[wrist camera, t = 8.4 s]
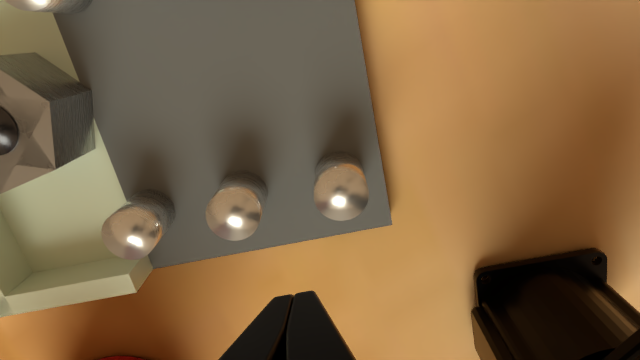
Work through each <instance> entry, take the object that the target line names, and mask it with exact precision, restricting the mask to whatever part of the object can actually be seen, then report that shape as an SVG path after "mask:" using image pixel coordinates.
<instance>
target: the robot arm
mask: <svg viewBox="0 0 640 360" xmlns="http://www.w3.org/2000/svg"><path fill="white" fill-rule="evenodd" d="M594 257H597V258H596V259H595V260H594V261H592V259H593V258H594ZM484 276H488V277H487V278H486V279H485V280H481V278H482V277H484ZM474 287H475V297H476V307H473V309H472V311H471V317H472V326H473V335H474V345H475V349H476V351H477V353H478V355H479V357H480V359H481V360H640V313H639V312H638V311H637V310H636V309H635V308H634V307H633V306H632V305H631V304H629V303H628V302H627V301H626V300H625V299H624V298H623V297H622V296H621V295H619V294H618V293H617V292H616V291H615V290H614V289H613V288H612V287H610V286H609V285H608V284H607V257H606V255H605V254H604V253H603V252H602V251H600V250H599V249H596V248H591V249H585V250H580V251H574V252H568V253H562V254H557V255H551V256H545V257H539V258H534V259H528V260H522V261H516V262H511V263H505V264H499V265H494V266H488V267H482V268H479V269H478V270H476V272H475V273H474ZM219 360H356V359H355V357H354V356H353V354H352V352H351V351H350V349H349V347H348V346H347V344H346V342H345V341H344V339H343V337H342V336H341V334H340V333H339V331H338V329H337V328H336V326H335V324H334V323H333V321H332V319H331V318H330V316H329V314H328V313H327V311H326V309H325V308H324V306H323V304H322V303H321V301H320V300H319V298H318V296H317V295H316V293H315V292H314V291H306V292H301V293H297V294H295V295H294V296H293V295H292V294H290V295H284V296H278V297H275V298H273V299H272V300H271V301H270V302H269V304H268V305H267V306H266V307H265V308H264V309H263V310H262V311H261V312H260V314H259V315H258V316H257V317H256V318H255V319H254V320H253V321H252V323H251V324H250V325H249V326H248V327H247V328H246V329H245V330H244V332H243V333H242V334H241V335H240V336H239V337H238V338H237V339H236V341H235V342H234V343H233V344H232V345H231V346H230V347H229V348H228V349H227V351H226V352H225V353H224V354H223V355H222V356H221V357H220V358H219Z"/></svg>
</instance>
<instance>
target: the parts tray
mask: <svg viewBox="0 0 640 360" xmlns="http://www.w3.org/2000/svg"><path fill="white" fill-rule="evenodd" d="M33 52H36V53H37V54H39V55H40V56H42V57H43V58H45V59H46V60H48V61H49V62H51V63H52V64H54V65H55V66H57V67H58V68H60V69H61V70H63V71H64V72H66V73H67V74H69V75H70V76H71V77H73V78H74V79H76V80H77V81H79V79H78V76H77V74H76V71H75V69H74V66H73V64H72V61H71V59H70V56H69V54H68V51H67V48H66V46H65V43H64V41H63V38H62V36H61V33H60V31H59V28H58V26H57V23H56V20H55V18H54V15H53V13H51V12H34V11H24V10H20V9H17V8H15V7H13V6H11V5H10V4H9V3H7V2H6V1H5V0H0V55H8V54H21V53H33ZM94 131H95V148H96V149H94V150H92V151H90V152H88V153H86V154H85V155H83V156H81V157H79V158H77V159H75V160H73V161H71V162H69V163H67V164H66V165H64V166H62V167H60V168H58V169H56V170H54V171H52V172H49V173H47V174H45V175H42V176H40V177H38V178H36V179H33V180H31V181H29V182H27V183H24V184H22V185H20V186H18V187H15V188H13V189H11V190H8V191H6V192H4V193H2V194H0V317H4V316H10V315H15V314H21V313H26V312H32V311H38V310H43V309H49V308H54V307H60V306H65V305H71V304H76V303H82V302H87V301H93V300H98V299H104V298H109V297H115V296H120V295H126V294H132V293H137V291H138V290H139V288H140V287H141V286H142V284H143V283H144V281H145V280H146V278H147V277H148V276H149V274H150V273H151V271H152V270H153V267H152V265H151V262H150V259H149V257H148V255H147V256H145V257H143V258H141V259H137V260H127V259H123V258H120V257H118V256H116V255H114V254H113V253H112V252H111V251H110V250H109V249H108V248H107V247H106V246H105V244H104V242H103V239H102V235H101V230H102V226H103V223H104V222H105V220H106V219H107V218H108V217H109V216H111V215H112V214H113V213H114V212H115V211H116V210H117V209H119V208H120V207H121V206H122V205H123V204H124V203H125V202H127V201H126V198H125V196H124V193H123V191H122V188H121V186H120V183H119V181H118V178H117V176H116V173H115V170H114V168H113V165H112V163H111V160H110V158H109V155H108V153H107V150H106V148H105V145H104V143H103V140H102V137H101V135H100V132H99V130H98V127H97V125H96V122H95V120H94Z"/></svg>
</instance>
